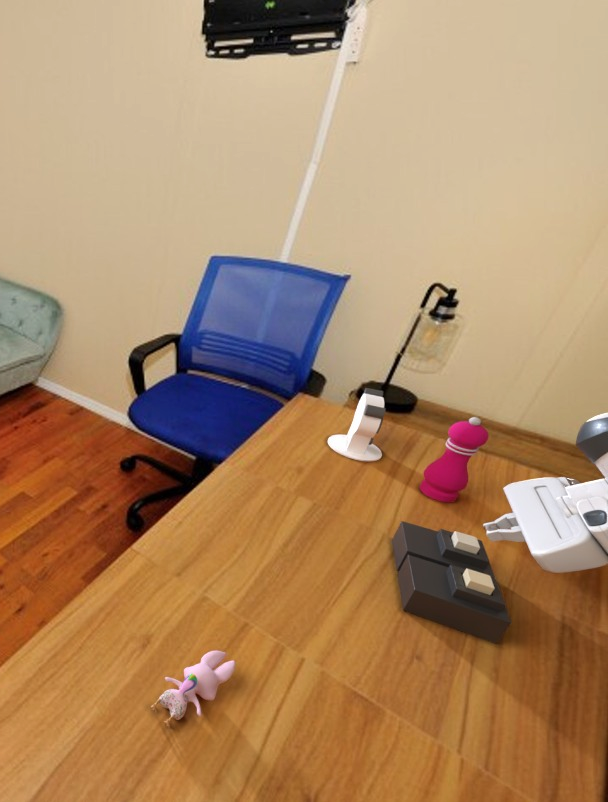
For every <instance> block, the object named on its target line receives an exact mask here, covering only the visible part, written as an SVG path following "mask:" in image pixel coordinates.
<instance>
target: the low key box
mask: <svg viewBox="0 0 608 802" xmlns="http://www.w3.org/2000/svg"><path fill="white" fill-rule="evenodd" d="M454 532H455V531H450V530H446V529H443V528H439V530H434V529H431V528H427V527H424V526H421V525H418V524H414V523H412V522H411V523H410V522H407V521H403V520H401V521H400V523H399V525H398V527H397V528H396V531H395V533H394V535H393V537H392V539H391V543H392V550H393V557H394V562H395V569H396V572H399V571H400V569H401V567H402V565H403V563H404V561H405V560H406V558H407V556H408V555H411V556H414V557H417V558H420V559H423V560H427V561H430V562H433V563H436V564H439V565H442V566H446V567H449V566H450V565H453V566H456V567H459V568H463V569H466V568H467V569H470V570H473V571H477V572H480V573H483V574H486V575H489V576H490V577H491V578H494V579H496V576H495V573H494V571H493V568H492V566H491V562H490V559H489V555H488V553H487V551H486V548H485V545H484V542H483V541H482V540H481V539H478V538H477V540H478V543H479V546H480V549H479V551H478V552H477V554H474V553H470V552H467V551H464V550H460V549H457V548H454V547H453V543H452V540H451V537H452V535H453V533H454Z"/></svg>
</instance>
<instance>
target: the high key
mask: <svg viewBox="0 0 608 802" xmlns="http://www.w3.org/2000/svg"><path fill="white" fill-rule="evenodd" d="M462 577H463V580H464V584H465V587H467V588H470V589H473V590H476V591H479V592H482V593H485V594H488V595H491V593H492V592H493V590H494V589H495V588H494V585H493V582H492V579H491V577H490V576H489V575H486V574H483V573H480V572H477V571H473V570H470V569H467V568H466V570H465V572H464V573H463V575H462Z"/></svg>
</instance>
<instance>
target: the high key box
mask: <svg viewBox="0 0 608 802" xmlns="http://www.w3.org/2000/svg"><path fill="white" fill-rule="evenodd" d="M465 570H466V569H463V568H459V567H456V566H453V565H450V566H449V567H446V566H442V565H439V564H436V563H433V562H430V561H427V560H423V559H420V558H417V557H414V556H411V555H408V556H407V558H406V560H405V561H404V563H403V565H402V567H401V569H400V571H398V573H397V582H398V587H399V593H400V594H399V595H400V600H401V605H402V611H403V612H406V613H409V614H412V615H415V616H417V617H420V618H423V619H426V620H428V621H431V622H434V623H437V624H440V625H442V626H444V627H447V628H450V629H454V630H456V631H459V632H461V633H465V634H466V635H467V634H468V635H470V636H473V637H476V638H478V639H482V640H484V641H486V642H490V643H492V644H495V645H497V644H498V642H499V641H500V640H501V638H502V637H503V635H504V634H505V633H506V632H507V630H508V629H509V627H510V626H511V624H512V620H511V616H510V614H509V612H508V609H507V606H506V602H505V599H504V597H503V594H502V591H501V589H500V586H499V582H498V580H497V578H495V579H494V578H491V579H492V582H493V585H494V588H495V589H494V590H493V592H492V593H491V595H488V594H485V593H482V592H479V591H476V590H473V589H470V588H467V587H465V584H464V580H463V577H462V575H463V573H464V572H465Z"/></svg>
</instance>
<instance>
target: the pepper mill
mask: <svg viewBox="0 0 608 802" xmlns="http://www.w3.org/2000/svg"><path fill="white" fill-rule="evenodd" d="M481 423H482V420H481V418H480V417H477V416H472V417H470V418H469V419H468V421H467V420H462V421H457V422H455V423H453V424H452V425H451V426H450V427H449V429H448V431H447V433H448V436H449V437H448V438H447V440H446V442H445V446H446V448H445V450H444V453H443V454H442V455H440V457H439V458H437V459H436V460H434V461H432V462H430V464H428V465H427V466H426V468H425V469H424V470H423V473H422V475H423V477H424V479H422V480H421V482H420V485H419V490H420V492H421V493H422V494H423V495H425V496H427V497H428V498H431V499H432V500H435V501H438V502H442V503H453V502H455V501H456V500H457V498H458V497H459V492H461V491H463V490H465V489H466V487H467V486H468V483H469V472H468V464H469V461H470V459H471V458H472V456H475V455H477V454H478V451H479V449H480V448H479V447H482V446H484V445H485V444H487V442H488V441H489V432H488V430H487V429H486V428H485V427H484V426H482V425H481Z"/></svg>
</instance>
